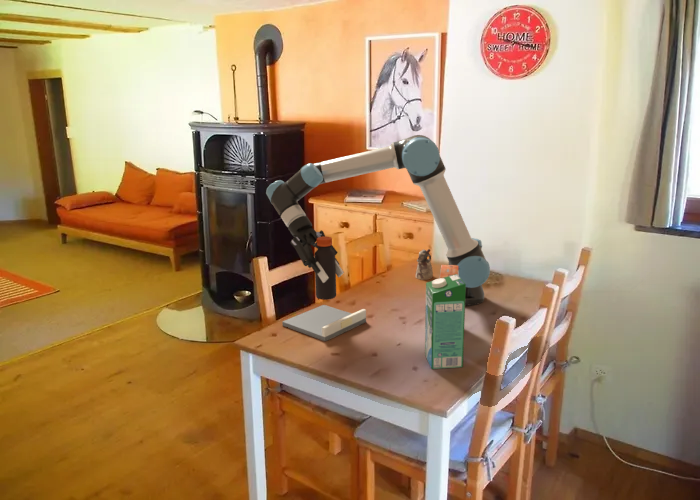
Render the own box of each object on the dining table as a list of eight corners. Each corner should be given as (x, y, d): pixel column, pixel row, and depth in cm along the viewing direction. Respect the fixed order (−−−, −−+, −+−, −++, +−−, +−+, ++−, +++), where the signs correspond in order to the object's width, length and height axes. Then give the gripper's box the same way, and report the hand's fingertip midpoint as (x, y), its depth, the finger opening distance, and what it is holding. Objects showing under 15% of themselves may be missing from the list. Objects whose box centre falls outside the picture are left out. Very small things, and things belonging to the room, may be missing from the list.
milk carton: (424, 355, 168) (425, 274, 161) (454, 353, 169) (457, 273, 162) (431, 369, 159) (433, 285, 153) (463, 367, 160) (466, 283, 153)
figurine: (413, 275, 240) (413, 248, 237) (428, 273, 242) (429, 246, 239) (419, 280, 234) (419, 252, 231) (435, 278, 235) (435, 251, 232)
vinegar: (316, 300, 185) (314, 241, 179) (315, 293, 191) (313, 236, 186) (337, 299, 185) (335, 240, 180) (335, 292, 192) (333, 235, 186)
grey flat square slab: (366, 322, 193) (366, 309, 191) (326, 341, 178) (325, 328, 177) (323, 308, 206) (323, 296, 205) (282, 325, 192) (281, 313, 190)
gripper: (312, 223, 199) (347, 276, 193) (270, 233, 186) (306, 291, 179) (322, 210, 195) (359, 264, 189) (280, 220, 181) (318, 279, 175)
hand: (333, 277), depth 184 cm, fingers closed on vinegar, 6 cm apart
